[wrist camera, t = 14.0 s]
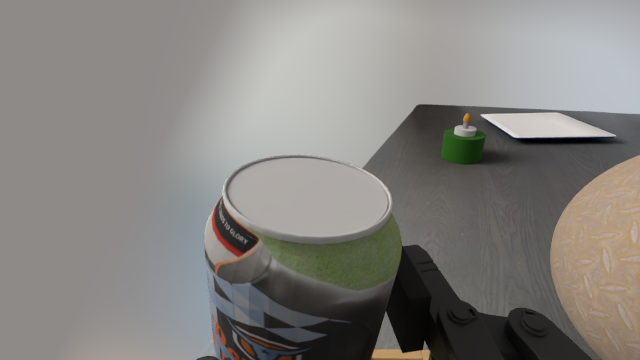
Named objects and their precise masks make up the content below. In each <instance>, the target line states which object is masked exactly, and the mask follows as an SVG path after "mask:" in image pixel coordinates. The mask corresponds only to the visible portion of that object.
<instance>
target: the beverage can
mask: <svg viewBox="0 0 640 360" xmlns="http://www.w3.org/2000/svg"><path fill="white" fill-rule="evenodd" d="M222 195H223V196H222V197H221V199H220V200H219V201H218V202H217V204H216V205H215V207H214V209H213V211H212V212H211V214H210V216H209V218H208V221H207V224H206V228H205V233H204V246H205V257H206V267H207V278H208V288H209V298H210V309H211V319H212V330H213V340H214V350H215V357H217V358H218V359H219V360H223V359H225V358H227V357H229V358H231V359H232V360H371V359H372V355H373V352H374V349H375V345H376V342H377V338H378V335H379V331H380V328H381V325H382V321H383V318H384V314H385V311H386V308H387V304H388V301H389V297H390V294H391V291H392V287H393V284H394V280H395V277H396V274H397V270H398V267H399V263H400V259H401V251H402V242H401V236H400V231H399V227H398V225H397V223H396V220H395V218H394V216H393V214H392V207H393V201H392V196H391V194H390V192H389V190H388V188H387V187H386V186H385V185H384V184H383V182H381V181H380V180H379V179H378V178H377V177H375V176H374V175H372V174H371V173H369V172H367V171H365V170H363V169H361V168H359V167H357V166H354V165H351V164H349V163H346V162H342V161H339V160H335V159H330V158H324V157H318V156H308V155H282V156H273V157H268V158H263V159H259V160H256V161H252V162H250V163H247V164H245V165H243V166H241V167H239V168H238V169H236V170H235V171H233V172H232V173H231V174H230V175H229V176H228V178H227V179H226V181H225V183H224V186H223V191H222Z"/></svg>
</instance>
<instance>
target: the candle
mask: <svg viewBox="0 0 640 360" xmlns="http://www.w3.org/2000/svg"><path fill="white" fill-rule="evenodd" d="M463 121H464V124H463V125H460V126H456V127H455V129H449V130H446V131H445V132H444V138H443V145H442V152H441V157H442V158H443V159H445V160H447V161H450V162H453V163H458V164H473V163H477V162H479V161H480V160H481V156H482V151H483V146H484V142H485V137H486V135H485V134H484V133H483V132H481V131H477V130H476V128H475V127H473V126H469V122H470V121H471V116H470V114H466V115H465V116H464V119H463Z"/></svg>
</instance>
